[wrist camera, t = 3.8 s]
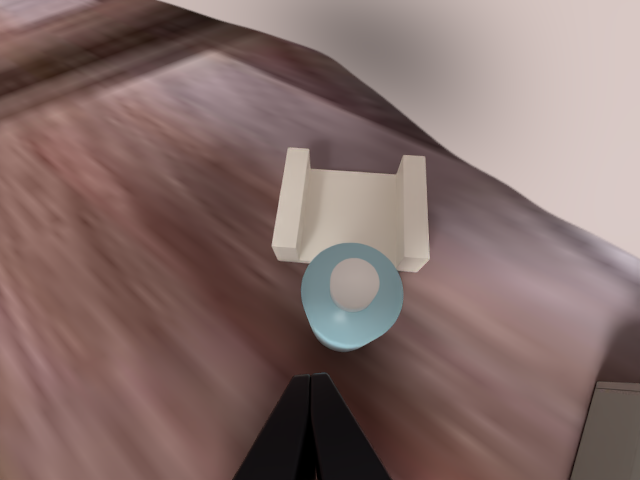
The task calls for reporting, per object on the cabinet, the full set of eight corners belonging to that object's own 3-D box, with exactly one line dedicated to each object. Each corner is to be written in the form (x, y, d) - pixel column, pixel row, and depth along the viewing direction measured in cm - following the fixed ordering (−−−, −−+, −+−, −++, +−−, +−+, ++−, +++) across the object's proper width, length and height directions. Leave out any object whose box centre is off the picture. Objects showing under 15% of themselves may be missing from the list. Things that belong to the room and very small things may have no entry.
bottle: (378, 352, 20) (418, 341, 12) (309, 351, 20) (295, 340, 12) (374, 284, 22) (406, 229, 13) (310, 284, 22) (300, 229, 13)
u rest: (416, 272, 22) (429, 259, 20) (278, 260, 23) (271, 246, 20) (414, 179, 25) (425, 156, 23) (292, 170, 26) (287, 147, 23)
